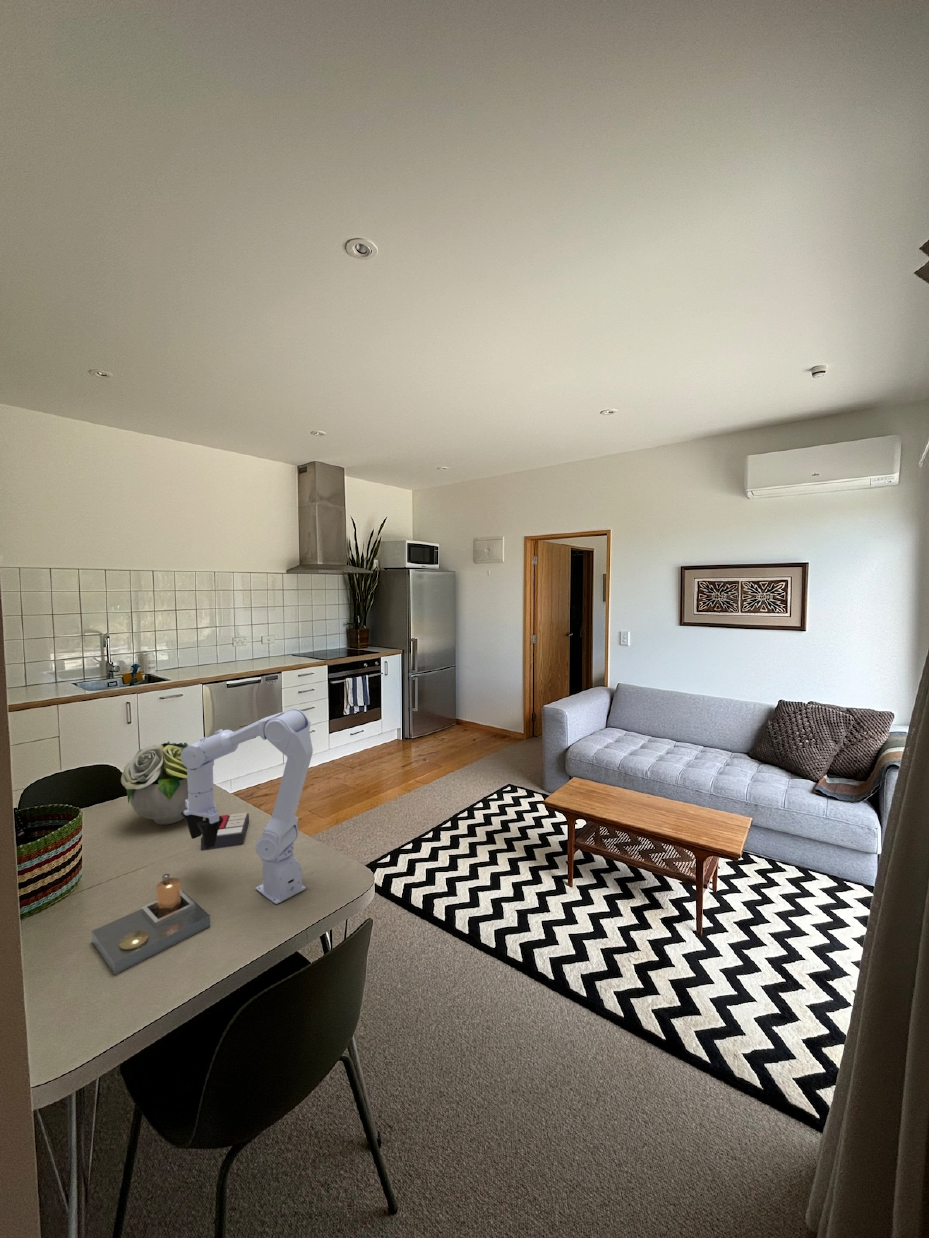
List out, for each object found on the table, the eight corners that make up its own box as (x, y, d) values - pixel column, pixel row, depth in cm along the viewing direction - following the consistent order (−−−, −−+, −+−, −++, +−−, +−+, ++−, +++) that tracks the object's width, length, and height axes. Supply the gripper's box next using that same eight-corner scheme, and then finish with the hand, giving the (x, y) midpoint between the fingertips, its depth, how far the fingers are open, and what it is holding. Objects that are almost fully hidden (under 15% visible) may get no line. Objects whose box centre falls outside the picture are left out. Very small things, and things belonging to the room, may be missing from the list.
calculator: (248, 810, 161) (242, 830, 146) (249, 824, 161) (243, 845, 146) (210, 815, 158) (200, 836, 143) (210, 829, 158) (200, 851, 143)
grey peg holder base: (210, 926, 112) (209, 910, 112) (114, 974, 98) (113, 957, 98) (183, 900, 121) (182, 886, 120) (92, 942, 107) (91, 926, 107)
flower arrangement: (103, 835, 151) (98, 755, 150) (163, 800, 176) (160, 730, 174) (179, 841, 148) (176, 759, 146) (230, 804, 173) (228, 733, 171)
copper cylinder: (185, 916, 114) (183, 875, 114) (164, 927, 111) (162, 885, 110) (175, 909, 117) (173, 868, 116) (154, 919, 113) (152, 878, 112)
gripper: (171, 786, 129) (174, 838, 130) (196, 802, 120) (199, 858, 121) (200, 778, 135) (202, 828, 136) (226, 793, 125) (228, 846, 126)
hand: (202, 841), depth 129 cm, fingers open, 7 cm apart
